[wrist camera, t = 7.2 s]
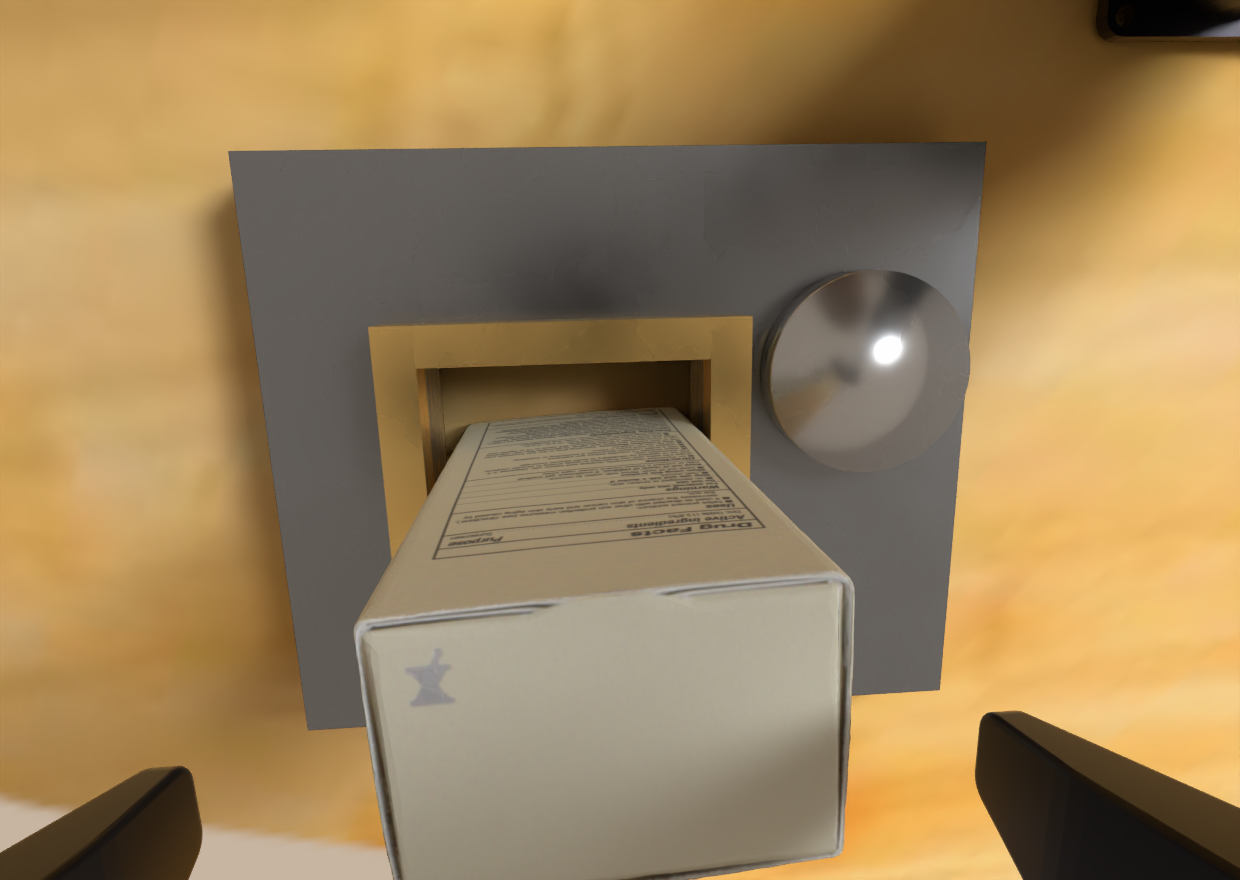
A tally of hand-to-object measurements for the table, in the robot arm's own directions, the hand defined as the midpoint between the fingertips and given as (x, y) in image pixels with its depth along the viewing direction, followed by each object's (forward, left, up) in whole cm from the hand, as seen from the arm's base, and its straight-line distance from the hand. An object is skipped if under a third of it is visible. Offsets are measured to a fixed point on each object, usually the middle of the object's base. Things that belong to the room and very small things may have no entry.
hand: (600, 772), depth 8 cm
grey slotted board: (-1, -1, -13) cm, 13 cm away
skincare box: (0, 0, -13) cm, 13 cm away
